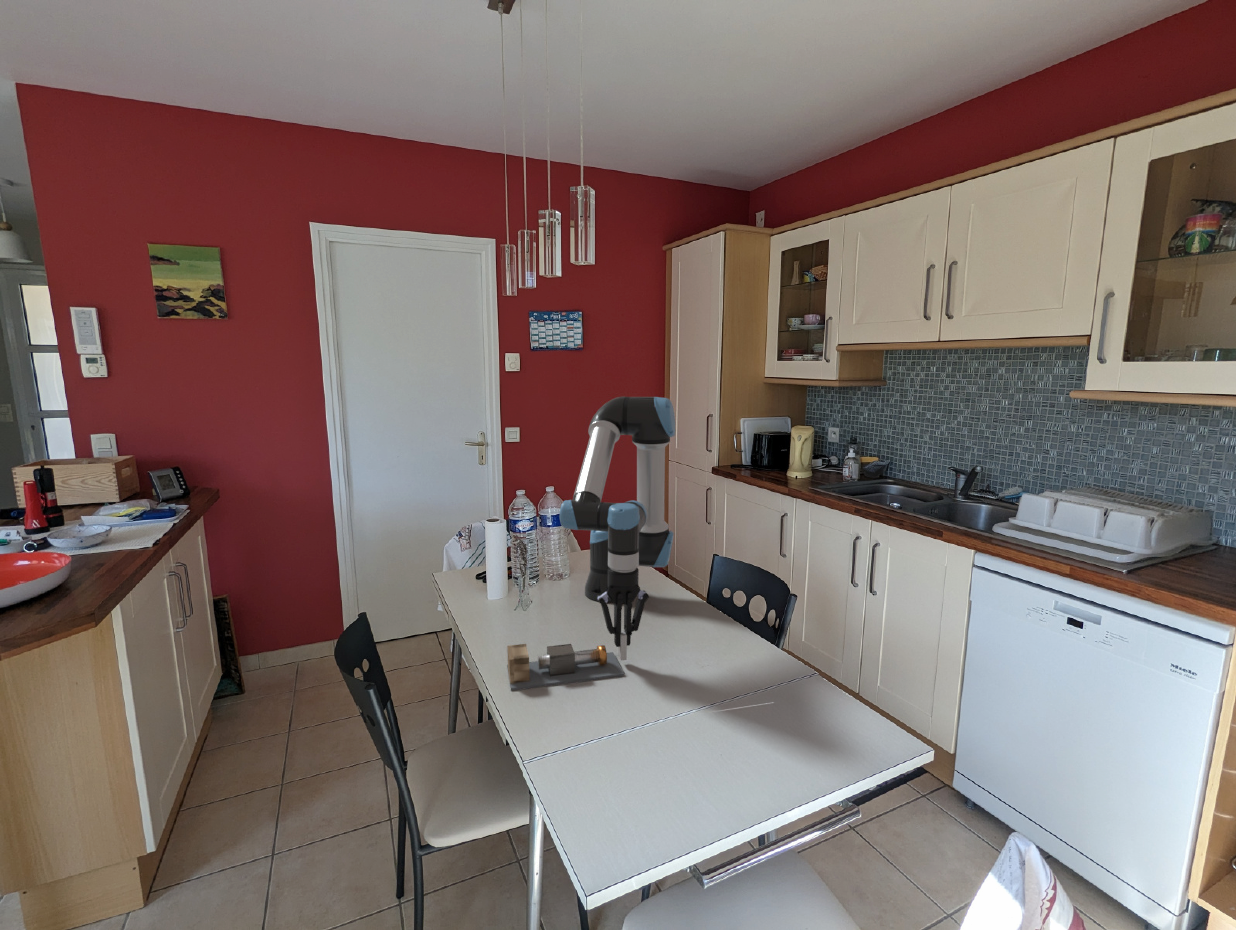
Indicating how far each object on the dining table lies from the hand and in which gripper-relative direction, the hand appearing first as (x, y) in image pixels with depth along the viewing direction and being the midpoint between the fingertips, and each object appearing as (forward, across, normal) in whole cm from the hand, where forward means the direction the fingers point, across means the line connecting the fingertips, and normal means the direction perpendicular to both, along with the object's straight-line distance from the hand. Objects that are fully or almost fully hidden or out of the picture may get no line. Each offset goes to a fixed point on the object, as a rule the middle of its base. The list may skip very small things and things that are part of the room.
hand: (622, 657), depth 147 cm
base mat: (+2, +14, 0) cm, 15 cm away
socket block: (+2, +26, 0) cm, 26 cm away
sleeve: (+2, +16, 0) cm, 16 cm away
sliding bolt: (+1, +13, 0) cm, 13 cm away
